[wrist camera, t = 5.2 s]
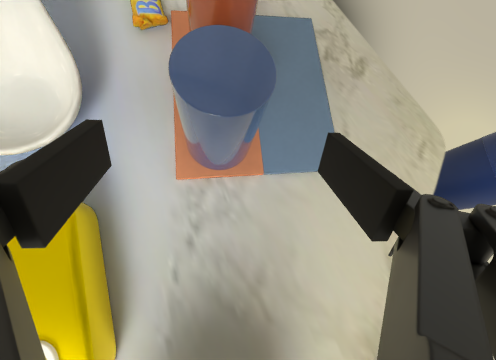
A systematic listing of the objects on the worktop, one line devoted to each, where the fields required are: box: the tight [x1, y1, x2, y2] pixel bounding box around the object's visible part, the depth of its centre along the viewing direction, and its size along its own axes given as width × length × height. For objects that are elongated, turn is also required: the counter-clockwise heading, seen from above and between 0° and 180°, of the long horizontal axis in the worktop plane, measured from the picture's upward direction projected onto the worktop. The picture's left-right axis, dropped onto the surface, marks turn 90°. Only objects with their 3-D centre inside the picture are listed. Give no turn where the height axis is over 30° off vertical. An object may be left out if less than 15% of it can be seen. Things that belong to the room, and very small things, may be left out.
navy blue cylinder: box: [169, 25, 277, 170], centre depth 20 cm, size 7×7×11 cm
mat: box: [171, 11, 334, 180], centre depth 28 cm, size 18×21×1 cm
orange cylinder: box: [186, 0, 258, 34], centre depth 23 cm, size 7×7×11 cm
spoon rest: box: [0, 0, 82, 155], centre depth 22 cm, size 24×12×7 cm, turn 6°
